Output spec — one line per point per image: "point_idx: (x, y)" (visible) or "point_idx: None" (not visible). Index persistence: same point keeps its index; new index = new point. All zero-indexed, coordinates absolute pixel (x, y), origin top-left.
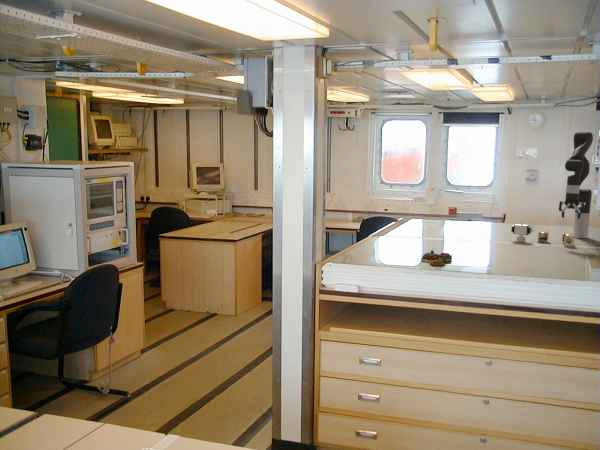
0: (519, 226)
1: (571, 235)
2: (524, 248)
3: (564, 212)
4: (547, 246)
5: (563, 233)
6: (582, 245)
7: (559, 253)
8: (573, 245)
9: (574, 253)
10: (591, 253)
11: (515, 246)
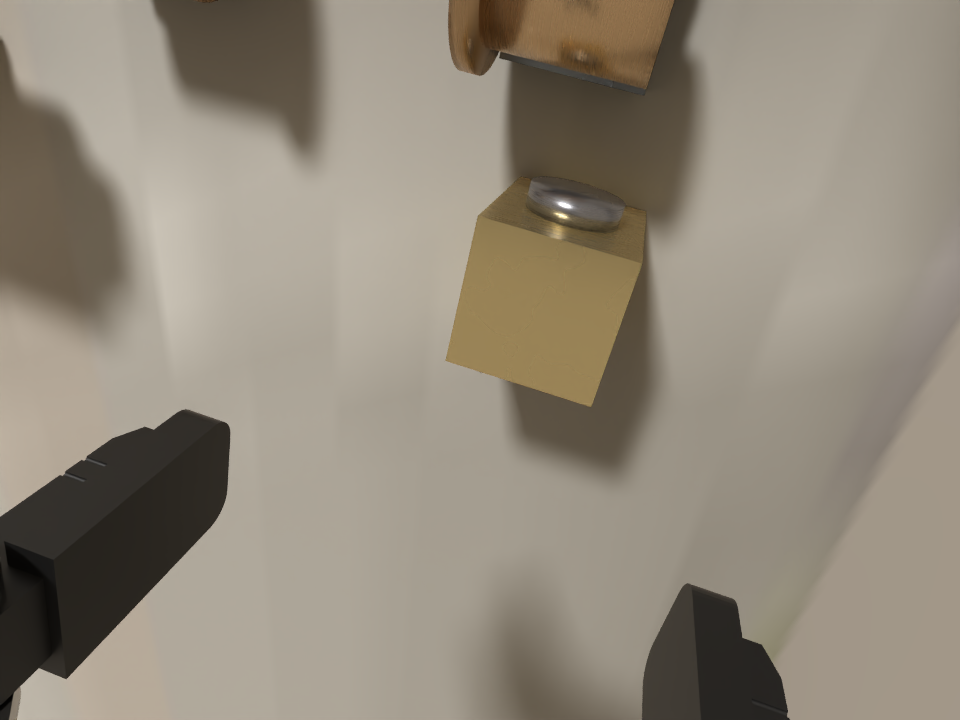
0: None
1: (570, 336)
2: None
3: (72, 557)
4: (291, 353)
5: (457, 18)
6: (845, 74)
7: (398, 716)
8: (645, 216)
9: (533, 711)
10: None
11: (12, 434)
